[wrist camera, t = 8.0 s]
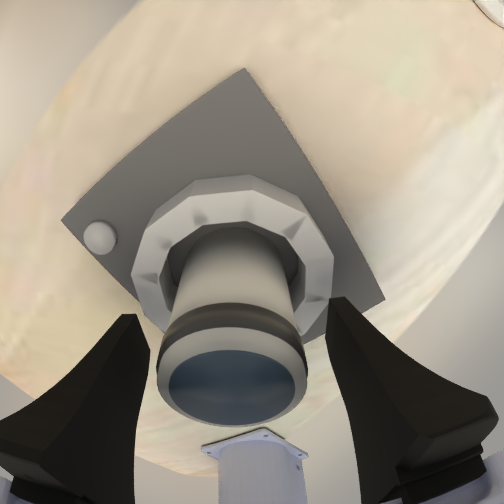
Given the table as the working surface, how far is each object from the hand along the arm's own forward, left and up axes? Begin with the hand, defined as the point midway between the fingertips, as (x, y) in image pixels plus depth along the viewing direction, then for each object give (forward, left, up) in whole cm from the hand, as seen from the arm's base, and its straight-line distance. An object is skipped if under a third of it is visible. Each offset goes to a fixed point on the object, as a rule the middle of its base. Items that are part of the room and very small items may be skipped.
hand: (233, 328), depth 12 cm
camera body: (0, 0, -6) cm, 6 cm away
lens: (0, 0, -4) cm, 4 cm away
